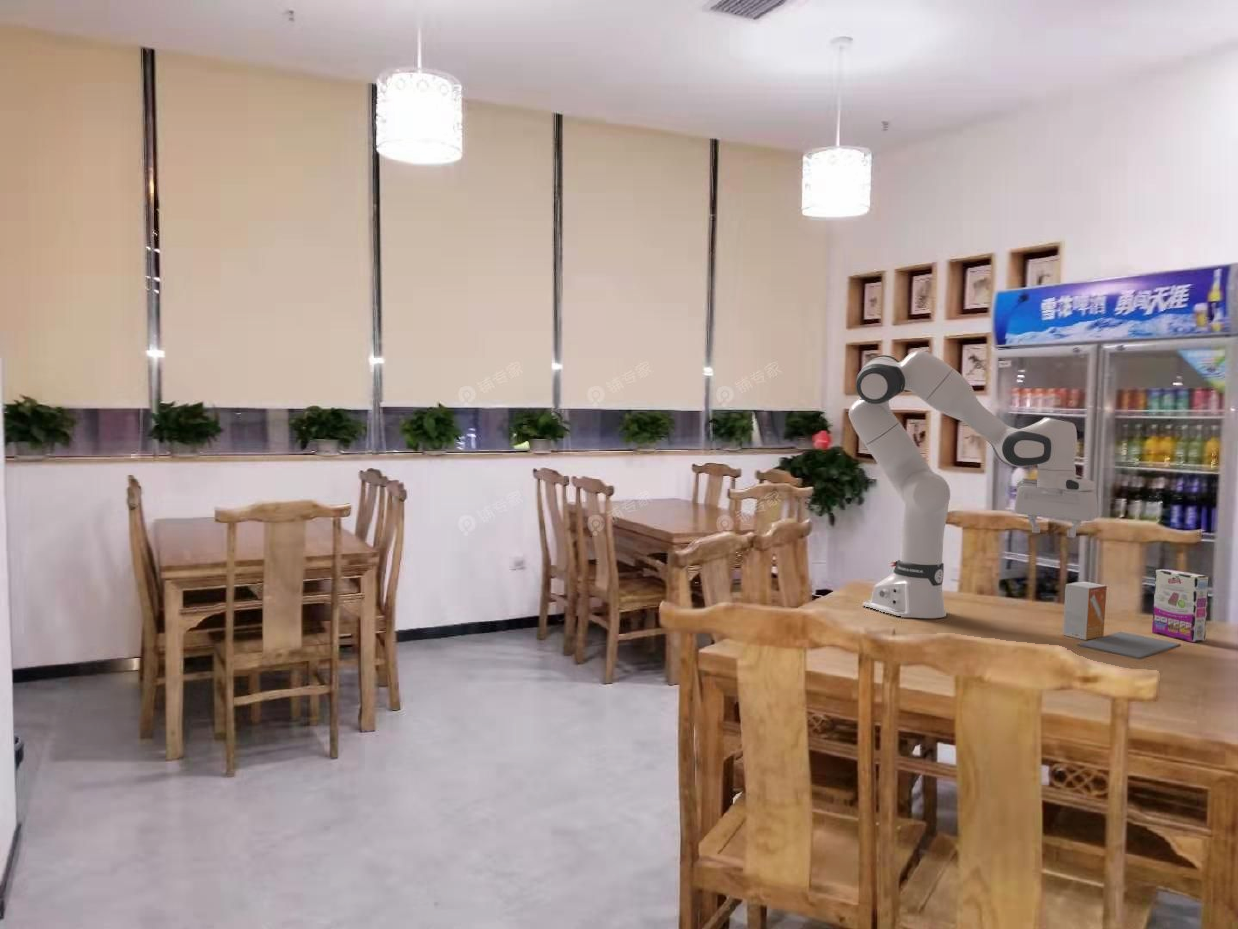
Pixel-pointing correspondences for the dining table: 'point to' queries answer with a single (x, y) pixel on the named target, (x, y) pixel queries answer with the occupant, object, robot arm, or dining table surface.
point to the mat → (1129, 645)
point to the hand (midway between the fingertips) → (1053, 534)
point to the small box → (1084, 610)
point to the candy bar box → (1180, 605)
